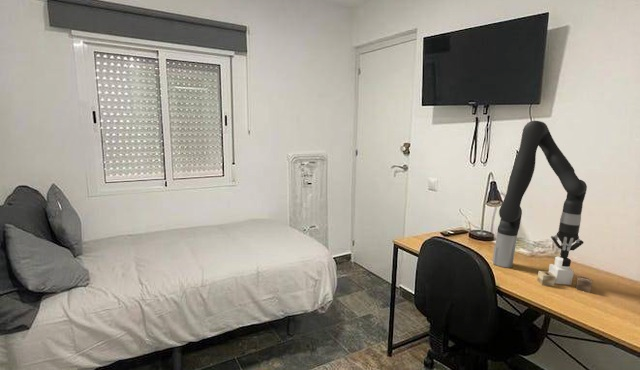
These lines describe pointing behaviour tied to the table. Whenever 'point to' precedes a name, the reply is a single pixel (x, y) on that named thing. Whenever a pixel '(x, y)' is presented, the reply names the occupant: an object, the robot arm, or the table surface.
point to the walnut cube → (584, 284)
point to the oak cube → (546, 278)
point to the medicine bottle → (562, 270)
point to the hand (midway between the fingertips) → (563, 257)
